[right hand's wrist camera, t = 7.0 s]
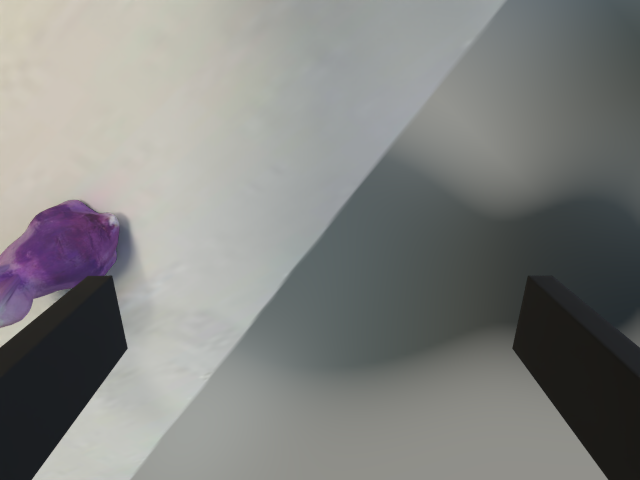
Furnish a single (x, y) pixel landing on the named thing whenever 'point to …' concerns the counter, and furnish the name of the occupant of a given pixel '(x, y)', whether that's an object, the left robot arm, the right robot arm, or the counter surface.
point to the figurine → (55, 256)
